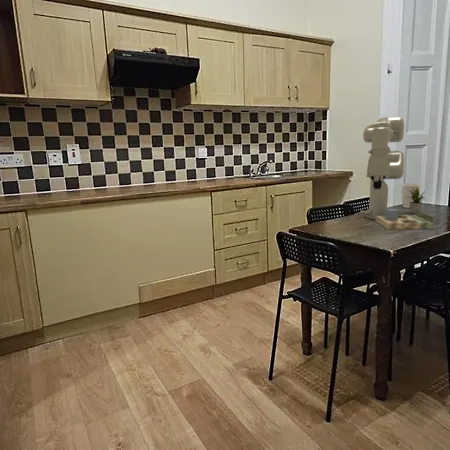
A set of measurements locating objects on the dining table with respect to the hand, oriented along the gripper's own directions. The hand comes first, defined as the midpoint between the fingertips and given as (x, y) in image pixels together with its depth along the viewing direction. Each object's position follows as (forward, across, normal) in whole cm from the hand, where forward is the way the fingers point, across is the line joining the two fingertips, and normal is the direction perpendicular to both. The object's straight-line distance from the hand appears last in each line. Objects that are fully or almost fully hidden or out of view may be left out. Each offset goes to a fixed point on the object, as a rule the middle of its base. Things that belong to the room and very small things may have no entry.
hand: (377, 188), depth 190 cm
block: (+16, +8, 0) cm, 18 cm away
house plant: (+19, +32, +34) cm, 51 cm away
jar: (+19, +37, +53) cm, 67 cm away
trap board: (+19, +14, 0) cm, 24 cm away
